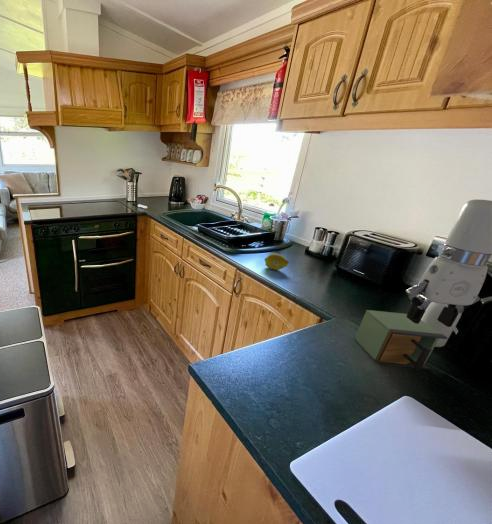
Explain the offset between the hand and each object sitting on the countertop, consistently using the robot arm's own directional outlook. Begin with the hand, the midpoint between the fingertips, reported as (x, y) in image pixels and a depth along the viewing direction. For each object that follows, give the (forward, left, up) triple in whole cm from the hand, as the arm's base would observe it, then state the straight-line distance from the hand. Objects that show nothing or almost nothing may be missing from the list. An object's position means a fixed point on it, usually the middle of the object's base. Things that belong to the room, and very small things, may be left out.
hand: (428, 321), depth 72 cm
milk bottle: (+5, -31, -18) cm, 36 cm away
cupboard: (+7, -10, -18) cm, 21 cm away
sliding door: (+1, -2, -17) cm, 17 cm away
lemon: (+66, -28, -18) cm, 74 cm away
